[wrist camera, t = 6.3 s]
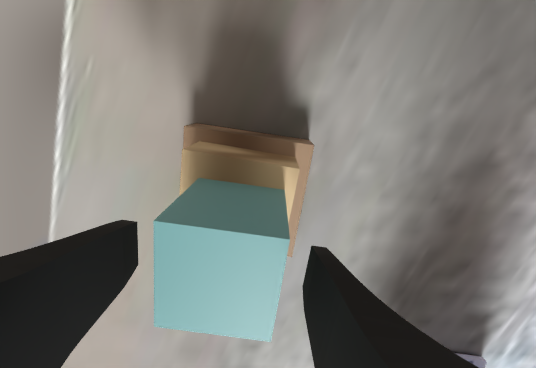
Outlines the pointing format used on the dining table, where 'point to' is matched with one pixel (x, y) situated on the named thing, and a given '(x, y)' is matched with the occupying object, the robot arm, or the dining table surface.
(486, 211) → the dining table surface
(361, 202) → the dining table surface
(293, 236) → the brown square slab
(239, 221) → the teal block
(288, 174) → the oak slab
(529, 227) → the dining table surface
